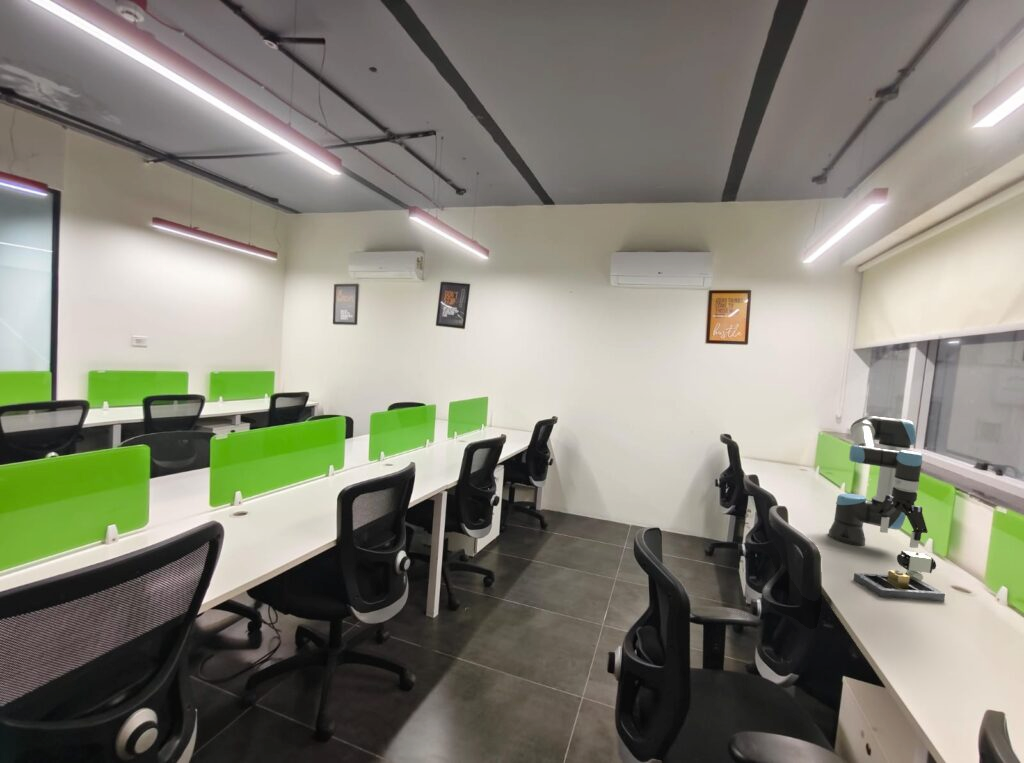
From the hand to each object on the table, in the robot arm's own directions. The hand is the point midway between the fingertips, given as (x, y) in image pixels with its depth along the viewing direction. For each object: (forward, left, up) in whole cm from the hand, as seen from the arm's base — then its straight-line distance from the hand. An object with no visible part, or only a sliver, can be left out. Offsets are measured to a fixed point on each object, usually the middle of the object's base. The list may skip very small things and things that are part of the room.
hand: (898, 539), depth 178 cm
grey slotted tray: (+6, -3, -19) cm, 20 cm away
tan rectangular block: (+6, -3, -19) cm, 20 cm away
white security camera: (-5, +13, -19) cm, 24 cm away
